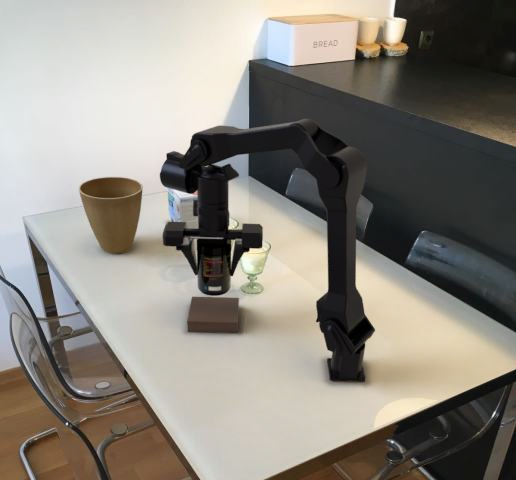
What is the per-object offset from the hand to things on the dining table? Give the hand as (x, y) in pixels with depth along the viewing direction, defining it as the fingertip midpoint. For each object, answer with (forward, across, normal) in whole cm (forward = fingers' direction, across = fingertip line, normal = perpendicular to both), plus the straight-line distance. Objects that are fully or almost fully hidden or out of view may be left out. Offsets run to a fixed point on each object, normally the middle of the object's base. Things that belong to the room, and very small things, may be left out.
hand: (214, 274), depth 118 cm
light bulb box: (+11, +11, -47) cm, 50 cm away
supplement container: (+3, 0, 0) cm, 3 cm away
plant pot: (+11, +27, -33) cm, 44 cm away
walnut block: (+10, 0, 0) cm, 11 cm away
